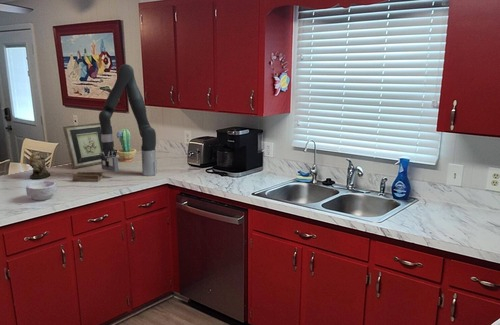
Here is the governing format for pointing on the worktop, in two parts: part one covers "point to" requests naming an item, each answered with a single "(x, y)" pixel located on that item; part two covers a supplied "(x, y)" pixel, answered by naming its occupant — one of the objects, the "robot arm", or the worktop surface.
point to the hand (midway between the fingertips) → (109, 165)
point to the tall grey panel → (110, 164)
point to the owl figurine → (38, 166)
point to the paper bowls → (41, 190)
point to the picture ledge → (87, 177)
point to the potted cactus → (125, 146)
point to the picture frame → (84, 144)
